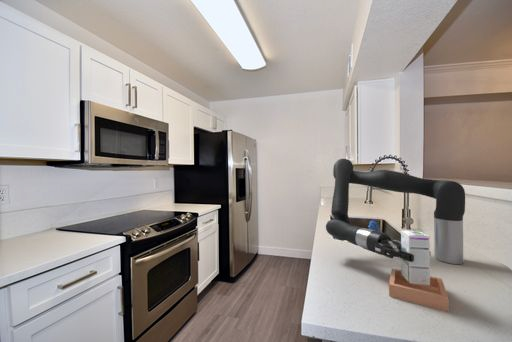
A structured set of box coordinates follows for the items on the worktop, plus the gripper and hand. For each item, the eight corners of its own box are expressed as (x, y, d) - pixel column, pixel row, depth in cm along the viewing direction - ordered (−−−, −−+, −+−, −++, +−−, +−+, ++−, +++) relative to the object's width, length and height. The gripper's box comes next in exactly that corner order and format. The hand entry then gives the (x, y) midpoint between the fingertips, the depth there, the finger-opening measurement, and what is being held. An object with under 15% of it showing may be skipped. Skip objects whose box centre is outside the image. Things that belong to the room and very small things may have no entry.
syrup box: (431, 286, 65) (431, 236, 65) (408, 283, 66) (408, 234, 66) (420, 277, 70) (421, 230, 70) (399, 275, 71) (400, 229, 71)
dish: (391, 278, 77) (391, 268, 77) (441, 289, 69) (441, 278, 70) (389, 295, 66) (389, 284, 66) (448, 311, 58) (448, 298, 58)
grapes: (379, 247, 109) (379, 223, 109) (364, 244, 114) (364, 221, 114) (385, 242, 118) (385, 219, 118) (371, 239, 122) (371, 217, 122)
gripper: (358, 232, 78) (407, 247, 63) (385, 228, 84) (435, 240, 69) (358, 253, 78) (407, 273, 63) (385, 248, 84) (435, 264, 69)
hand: (421, 256), depth 66 cm, fingers closed on syrup box, 8 cm apart
